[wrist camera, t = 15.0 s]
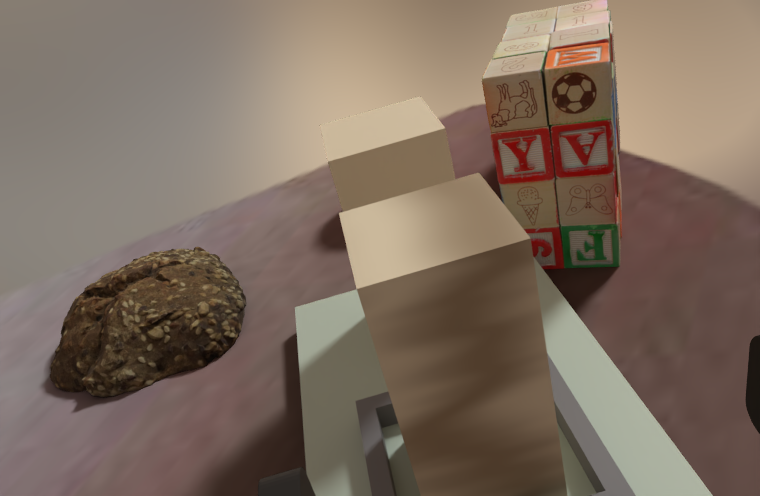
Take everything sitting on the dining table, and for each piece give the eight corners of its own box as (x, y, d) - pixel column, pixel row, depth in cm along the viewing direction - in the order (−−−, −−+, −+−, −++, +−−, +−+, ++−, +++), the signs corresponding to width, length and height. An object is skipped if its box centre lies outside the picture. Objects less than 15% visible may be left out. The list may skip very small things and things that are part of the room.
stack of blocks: (542, 131, 56) (524, -18, 50) (620, 123, 54) (610, -34, 48) (511, 274, 39) (478, 74, 33) (623, 270, 37) (609, 55, 31)
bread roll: (235, 260, 50) (211, 203, 47) (262, 348, 39) (234, 280, 37) (66, 324, 47) (32, 267, 45) (46, 435, 37) (1, 368, 34)
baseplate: (330, 669, 22) (189, 394, 16) (302, 327, 39) (230, 134, 33) (730, 549, 22) (744, 232, 16) (525, 262, 39) (494, 59, 33)
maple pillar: (434, 539, 23) (356, 288, 18) (407, 438, 28) (338, 213, 22) (568, 498, 23) (530, 238, 18) (520, 404, 28) (478, 172, 22)
